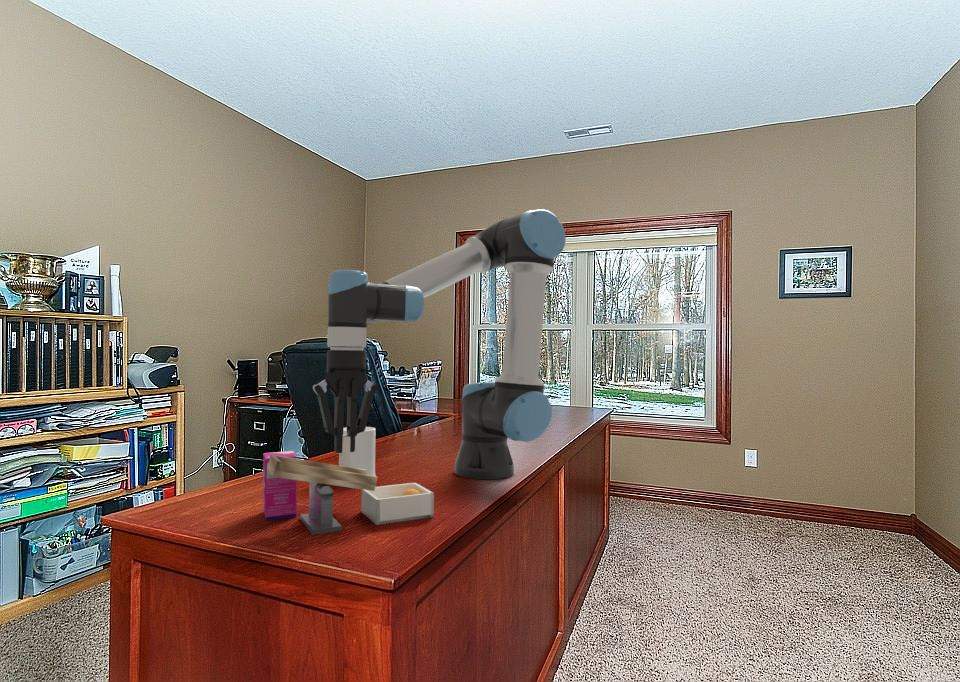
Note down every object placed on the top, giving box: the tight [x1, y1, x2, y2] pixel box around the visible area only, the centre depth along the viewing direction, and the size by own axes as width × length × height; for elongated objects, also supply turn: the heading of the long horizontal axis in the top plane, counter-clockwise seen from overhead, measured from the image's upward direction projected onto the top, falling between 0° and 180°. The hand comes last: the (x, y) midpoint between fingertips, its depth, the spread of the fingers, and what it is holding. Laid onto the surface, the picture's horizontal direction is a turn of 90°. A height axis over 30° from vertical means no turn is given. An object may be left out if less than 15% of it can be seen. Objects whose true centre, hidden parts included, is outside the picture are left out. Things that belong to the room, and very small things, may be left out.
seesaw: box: [267, 455, 379, 491], centre depth 106 cm, size 18×13×2 cm
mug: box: [343, 426, 377, 476], centre depth 141 cm, size 12×8×12 cm
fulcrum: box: [299, 482, 343, 536], centre depth 103 cm, size 5×10×8 cm, turn 29°
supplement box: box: [262, 450, 298, 521], centre depth 109 cm, size 6×6×12 cm
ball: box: [402, 489, 420, 496], centre depth 111 cm, size 4×4×4 cm
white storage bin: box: [360, 482, 435, 526], centre depth 110 cm, size 11×9×4 cm
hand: (344, 468), depth 113 cm, fingers closed
